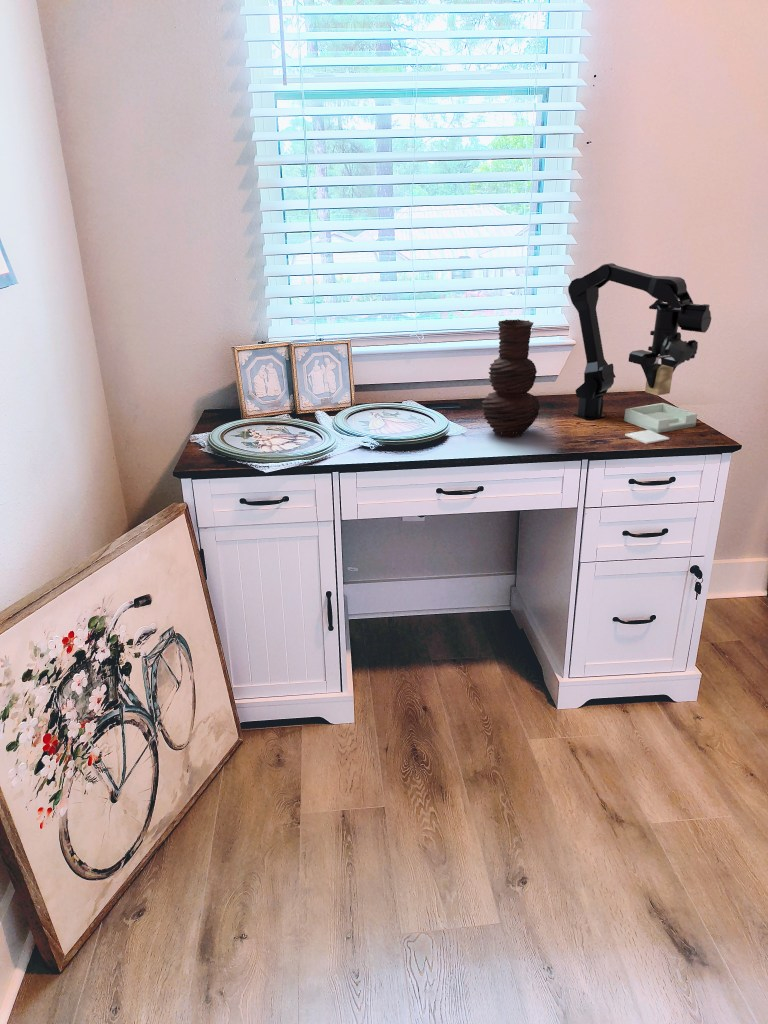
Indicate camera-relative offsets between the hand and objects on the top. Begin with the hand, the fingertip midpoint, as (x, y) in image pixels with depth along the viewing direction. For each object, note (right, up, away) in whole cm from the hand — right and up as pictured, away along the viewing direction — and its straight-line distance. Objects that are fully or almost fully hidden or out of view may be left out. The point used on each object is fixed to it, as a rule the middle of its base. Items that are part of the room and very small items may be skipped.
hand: (657, 386), depth 204 cm
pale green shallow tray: (+4, -9, +10) cm, 14 cm away
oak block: (0, -1, +1) cm, 2 cm away
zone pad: (-3, -14, -1) cm, 14 cm away
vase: (-40, -13, +3) cm, 42 cm away
